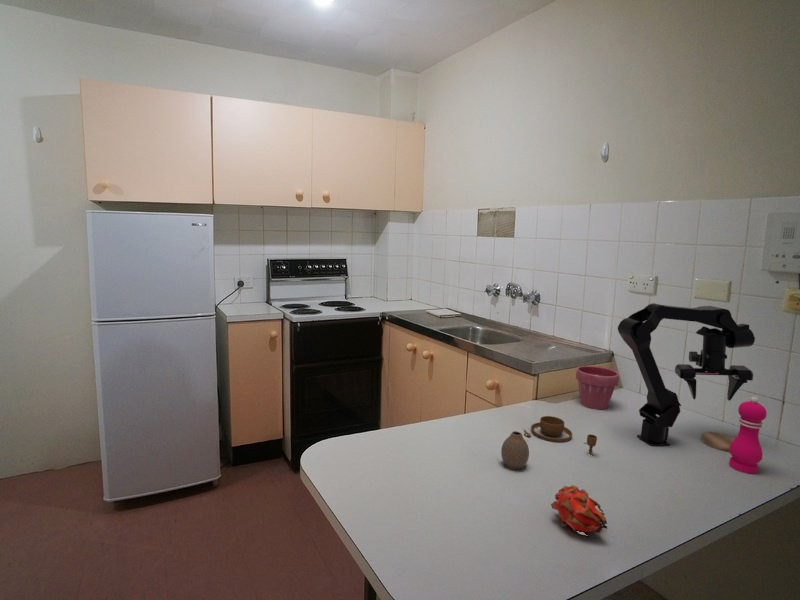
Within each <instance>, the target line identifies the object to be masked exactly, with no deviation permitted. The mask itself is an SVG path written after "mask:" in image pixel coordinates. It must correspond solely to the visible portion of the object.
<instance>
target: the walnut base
mask: <svg viewBox="0 0 800 600" xmlns="http://www.w3.org/2000/svg"><path fill="white" fill-rule="evenodd" d="M700 436H701V437H700V438H701V439H700V440H701V442H702V443H703V444H705V445H706V446H708V447H711V448H713V449H716V450H720V451H723V452H728V453H730V452H729V448H730V445H731V443H732V441H733V440H734V439H735V438H736V436H732V435H730V434H727V433H722V432H717V431H705V432H702V433H701V435H700Z"/></svg>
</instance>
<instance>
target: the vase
mask: <svg viewBox="0 0 800 600" xmlns="http://www.w3.org/2000/svg"><path fill="white" fill-rule="evenodd" d="M500 451H501V452H500V454H501V455H500V456H501V459H502V462H503V463H504V465H505V466H507V467H508V468H509V467H510V468H509V469H512V468H514V469H513V470H519V469H521V468H523V467H525V466H526V465H527V463H528V460H529V459H530V449H529V445H528V443H527V442H526V440H525V438H524V437H523V434H522V432H520V431H516V430H514V431H512V432H511V433H510V434H509V436H508V437H506V438H505V440H504V441H503V443H502V446H501V450H500Z"/></svg>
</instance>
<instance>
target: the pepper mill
mask: <svg viewBox="0 0 800 600" xmlns="http://www.w3.org/2000/svg"><path fill="white" fill-rule="evenodd" d="M740 403H741V402H740ZM737 411H738V414H739V415H740V417H739V418H738V424H739V430H738V433H737V435H736V436H735V439H734V440H733V441H732V443H731V445H730V448H729V452H728V453H729V454H730V455H731V456H730V457H729V462H728V465H729V466H730V467H731V468H732V469H734V470H736V471H738V472H741V473H745V474H749V475H750V474H752V475H753V474H757V473H758V471H759V464H758V463H759V462H761V461H762V460H763V454H764V453H763V449H762V447H761V443H760V438H759V432H760V429H762V428H763V422H762V421H764V420H766V418H767V409H766V408H765V406H764V405H763V404H761V403H759V398H758V397H757V396H751V397H749V401H748V400H747V401H746V400H745V401H743V402H742V403H741V404H740V405H739V406H738V409H737Z"/></svg>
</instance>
